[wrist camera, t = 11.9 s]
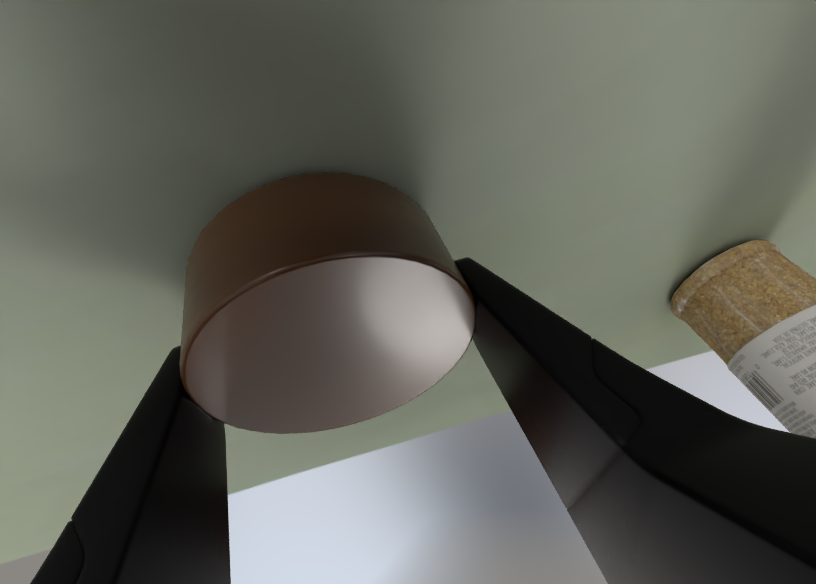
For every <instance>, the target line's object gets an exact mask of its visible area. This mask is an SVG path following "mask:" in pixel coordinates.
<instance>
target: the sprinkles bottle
mask: <svg viewBox="0 0 816 584" xmlns="http://www.w3.org/2000/svg"><path fill="white" fill-rule="evenodd" d="M671 311H672V313H673V314H674V315H675V316H676V317H677V318H679V319H681V320H683V321H685V322H686V323H687V324H688V325H689V326H690V327H691V328H692V329H693V330H694V331H695V332H696V333H697V334H698V335H699V336H700V337H701V338H702V339H703V340H704V341H705V342H706V343H707V344H708V345H709V347H710V348H711V349H713V350H714V351H715V352H716V353H717V354H718V355H719V357H720V358H721V359H722V360H723V361H724V362H725V363H726V364H727V366H728V369H729V370H730V371H731V372H732V373H733V374H734V375H735V376H736V377H737V378H738V379H739V380H740V381H741V382H742V383H743V384H744V385H745V386H746V387H747V388H748V389H749V391H751V393H752V394H753V395H754V396H755V397H756V398H757V399H758V400H759V401H760V402H761V403H762V404H763V405H764V406H765V407H766V408H767V409H768V410H769V411H770V412H771V413H772V414H773V415H774V416H775V417H776V418H777V419H778V421H780V423H781V424H782V425H783V426H785V428H786V429H787V430H788V431H789V432H790V433H793V434H798V435H802V436H807V437H811V438H816V279H815V278H814V277H812V276H811V275H809V274H808V273H807V272H806V271H804V270H803V269H801V268H800V267H799V266H797V265H796V264H794V263H793V262H791V261H790V260H789V259H787V258H786V257H785V256H783V255H782V254H781V253H780V250H779V248H778V247H777V246H776V245H774V244H772V243H770V242H768V241H763V240H754V241H749V242H746V243H744V244H741V245H738V246H736V247H733V248H731V249H729V250H727V251H725V252H723V253H721V254H719V255H717V256H715V257H714V258H712V259H711V260H709V261H707V262H706V263H704V264H703V265H702V266H700V267H699V268H698V269H697V270H696V271H694V272H693V273H692V274H691V275H690V277H688V278H687V279H686V280H685V281H684V282H683V283H682V284H681V285H680V287H679V288H678V289H677V290H676V292H675V293H674V295H673V297H672V300H671Z"/></svg>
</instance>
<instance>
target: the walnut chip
mask: <svg viewBox="0 0 816 584" xmlns="http://www.w3.org/2000/svg"><path fill="white" fill-rule="evenodd" d="M475 326H476V305H475V300H474V297H473V294H472V292H471V291H470V289H469V287H468V285H467V283H466V282H465V280H464V278H463V276H462V275H461V273H460V271H459V269H458V268H457V266H456V264H455V262H454V261H453V259H452V257H451V255H450V254H449V252H448V250H447V248H446V246H445V245H444V243H443V241H442V239H441V238H440V236H439V234H438V232H437V231H436V229H435V227H434V225H433V224H432V222H431V220H430V218H429V216H428V215H427V214H426V213H425V211H424V210H423V209H422V208H421V206H420V205H419V204H417V203H416V202H415V201H414V200H413V199H412V198H411V197H409V196H408V195H406V194H405V193H403V192H401V191H400V190H398V189H397V188H395V187H392V186H390V185H388V184H386V183H383V182H381V181H378V180H375V179H371V178H368V177H364V176H359V175H352V174H346V173H314V174H303V175H299V176H294V177H289V178H284V179H281V180H278V181H275V182H272V183H269V184H266V185H263V186H261V187H259V188H257V189H255V190H253V191H251V192H248V193H246V194H245V195H243V196H241V197H240V198H238V199H237V200H235V201H234V202H232V203H231V204H229V205H228V206H227V207H226V208H224V209H223V210H222V211H221V212H220V213H219V214H217V215H216V216H215V217H214V218H213V219H212V220H211V222H210V223H209V224H208V225H207V226H206V227H205V229H204V230H203V231H202V232H201V234H200V236H199V237H198V239H197V241H196V242H195V244H194V246H193V249H192V251H191V254H190V257H189V260H188V265H187V271H186V283H185V296H184V310H183V323H182V337H181V350H180V377H181V380H182V383H183V386H184V388H185V390H186V392H187V394H188V395H189V397H190V398H191V400H192V401H193V402H194V403H195V404H197V405H198V406H199V407H200V408H201V409H202V410H203V411H205V412H206V413H207V414H209V415H210V416H211V417H213V418H215V419H217V420H219V421H221V422H223V423H225V424H228V425H231V426H234V427H237V428H241V429H246V430H250V431H257V432H264V433H279V434H287V433H307V432H316V431H323V430H329V429H334V428H339V427H343V426H347V425H351V424H355V423H358V422H361V421H365V420H368V419H371V418H373V417H376V416H379V415H381V414H384V413H386V412H388V411H391V410H393V409H395V408H397V407H399V406H401V405H403V404H405V403H407V402H409V401H411V400H412V399H414V398H415V397H417V396H419V395H420V394H422V393H423V392H425V391H426V390H428V389H429V388H431V387H432V386H433V385H435V384H436V383H437V382H438V381H439V380H441V379H442V378H443V377H444V376H445V375H446V374H447V373H448V372H449V371H450V370H451V369H452V368H453V367H454V366H455V365H456V364H457V363H458V361H459V360H460V359H461V357H462V356H463V354H464V353H465V352H466V350H467V348H468V346H469V344H470V342H471V340H472V338H473V335H474V332H475Z"/></svg>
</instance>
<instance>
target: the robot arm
mask: <svg viewBox="0 0 816 584" xmlns="http://www.w3.org/2000/svg"><path fill="white" fill-rule="evenodd" d="M454 262H455V264H456V266H457V268H458V269H459V271H460V273H461V275H462V276H463V278H464V280H465V282H466V283H467V285H468V287H469V289H470V291H471V292H472V294H473V297H474V300H475V305H476V326H475V332H474V335H473V340H474V343H475V345H476V347H477V349H478V351H479V353H480V355H481V356H482V358H483V360H484V362H485V364H486V365H487V367H488V369H489V371H490V373H491V374H492V376H493V378H494V380H495V382H496V383H497V385H498V387H499V389H500V390H501V392H502V394H503V396H504V398H505V399H506V401H507V403H508V405H509V407H510V408H511V410H512V412H513V414H514V416H515V417H516V419H517V421H518V422H519V424H520V426H521V428H522V430H523V432H524V433H525V435H526V437H527V439H528V441H529V442H530V444H531V446H532V448H533V450H534V451H535V453H536V455H537V457H538V459H539V460H540V462H541V464H542V466H543V468H544V469H545V471H546V473H547V475H548V477H549V478H550V480H551V482H552V484H553V485H554V487H555V489H556V491H557V493H558V494H559V496H560V498H561V500H562V502H563V503H564V505H565V507H566V508H568V509H567V511H568V512H569V514H570V516H571V518H572V520H573V521H574V523H575V525H576V527H577V529H578V531H579V532H580V534H581V536H582V538H583V540H584V541H585V543H586V545H587V547H588V549H589V550H590V552H591V554H592V556H593V558H594V559H595V561H596V563H597V565H598V566H599V568H600V570H601V572H602V574H603V575H604V577H605V579H606V581H607V583H608V584H816V438H811V437H807V436H802V435H798V434H793V433H788V432H784V431H779V430H775V429H770V428H766V427H763V426H759V425H756V424H753V423H750V422H747V421H745V420H742V419H739V418H737V417H735V416H732V415H730V414H728V413H726V412H724V411H722V410H720V409H718V408H716V407H714V406H712V405H710V404H708V403H707V402H705V401H703V400H701V399H699V398H697V397H695V396H693V395H691V394H690V393H687V392H686V391H684V390H682V389H680V388H678V387H676V386H674V385H673V384H670V383H669V382H667V381H665V380H663V379H661V378H659V377H657V376H656V375H654V374H652V373H650V372H649V371H647V370H645V369H643V368H641V367H640V366H638V365H636V364H634V363H632V362H631V361H629V360H627V359H626V358H624V357H623V356H621V355H619V354H618V353H616V352H614V351H613V350H611V349H610V348H608V347H606V346H605V345H603V344H602V343H600V342H599V341H597V340H596V339H591V336H589V335H588V334H586V333H585V332H583V331H582V330H580V329H579V328H577V327H575V326H574V325H572V324H571V323H569V322H568V321H566V320H565V319H563V318H562V317H560V316H559V315H557V314H555V313H554V312H552V311H551V310H549V309H548V308H546V307H545V306H543V305H542V304H540V303H539V302H537V301H535V300H534V299H532V298H531V297H529V296H528V295H526V294H525V293H523V292H522V291H520V290H519V289H517V288H515V287H514V286H512V285H511V284H509V283H508V282H506V281H505V280H503V279H502V278H500V277H499V276H497V275H495V274H494V273H492V272H491V271H489V270H488V269H486V268H485V267H483V266H482V265H480V264H479V263H477V262H475V261H474V260H472V259H471V258H468V257H466V258H463V259H459V260H456V261H454ZM180 350H181V346H178V347H175V348H173V349H172V350H171V352H170V353H169V355H168V357H167V358H166V360H165V362H164V363H163V365H162V367H161V368H160V370H159V372H158V373H157V375H156V377H155V378H154V380H153V382H152V383H151V385H150V387H149V388H148V390H147V392H146V393H145V395H144V397H143V398H142V400H141V402H140V403H139V405H138V407H137V408H136V410H135V412H134V413H133V415H132V417H131V418H130V420H129V422H128V423H127V425H126V427H125V428H124V430H123V432H122V433H121V435H120V437H119V438H118V440H117V442H116V443H115V445H114V447H113V448H112V450H111V452H110V453H109V455H108V457H107V458H106V460H105V462H104V463H103V465H102V467H101V469H100V470H99V472H98V474H97V475H96V477H95V479H94V480H93V482H92V484H91V485H90V487H89V489H88V490H87V492H86V494H85V495H84V497H83V499H82V500H81V502H80V504H79V505H78V507H77V509H76V510H75V512H74V514H73V515H72V518H71V519H72V521H69V522H68V523H67V525H66V527H65V528H64V530H63V532H62V533H61V535H60V537H59V538H58V540H57V542H56V543H55V545H54V547H53V548H52V550H51V551H50V553H49V555H48V556H47V558H46V560H45V561H44V563H43V564H42V566H41V567H40V569H39V571H38V572H37V574H36V576H35V577H34V579H33V580H32V582H31V583H30V584H231V579H230V551H229V525H228V495H227V467H226V440H225V427H224V423H223V422H221V421H219V420H217V419H215V418H213V417H211V416H210V415H209V414H207V413H206V412H205V411H203V410H202V409H201V408H200V407H199V406H198V405H197V404H195V403H194V402H193V401H192V400H191V398H190V397H189V395H188V394H187V392H186V390H185V388H184V386H183V383H182V380H181V377H180Z"/></svg>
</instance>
